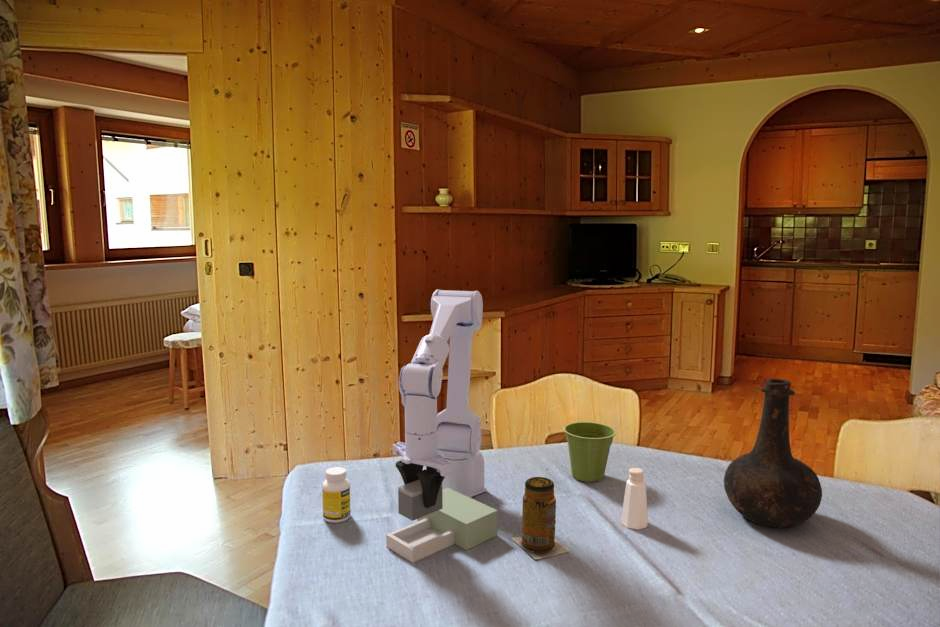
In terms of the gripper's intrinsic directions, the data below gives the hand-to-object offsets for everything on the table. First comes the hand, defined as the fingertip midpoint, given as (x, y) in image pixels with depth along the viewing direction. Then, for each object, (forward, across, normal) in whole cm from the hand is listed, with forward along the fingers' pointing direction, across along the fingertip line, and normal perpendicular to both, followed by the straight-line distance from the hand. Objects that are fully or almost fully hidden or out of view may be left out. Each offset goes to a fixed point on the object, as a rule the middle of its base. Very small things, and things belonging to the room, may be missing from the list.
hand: (421, 501), depth 121 cm
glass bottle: (+8, +39, +58) cm, 70 cm away
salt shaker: (+8, +22, +36) cm, 43 cm away
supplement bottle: (+8, -20, -6) cm, 22 cm away
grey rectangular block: (+2, 0, 0) cm, 2 cm away
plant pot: (+8, +2, +48) cm, 48 cm away
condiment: (+9, +15, +16) cm, 23 cm away
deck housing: (+8, 0, +4) cm, 9 cm away
